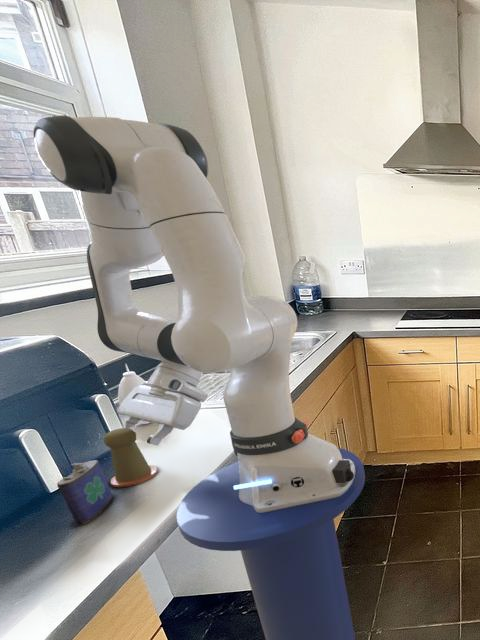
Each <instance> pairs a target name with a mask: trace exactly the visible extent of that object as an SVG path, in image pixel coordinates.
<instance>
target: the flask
mask: <svg viewBox="0 0 480 640" xmlns="http://www.w3.org/2000/svg"><path fill="white" fill-rule="evenodd" d="M71 466H74V468H72V473H69V475H68V476H64V477H62V479H60V480H59V481H58V482H57V484H56V485H57V488H58V490H59V491H60V495H61V496H62V498H63V500H64V502H65V504H66V507H67V509H68V511H69V513H70V514H71V517H72V518H73V521H74V524H75V526H78V525H79V526H80V525H83V524H86V523H89V522H91V521H92V520H93V519H95V518H96V517H97V516H99V514H101V513H102V512H103V511H104V510H105V508H106V507H107V506H108V505H109V504H110V503H111V502H112V501H113V498H114V497H113V494H112V492H111V489H110V487H109V485H108V483H107V479H106V478H105V475H104V473H103V469H102V467H101V465H100V463H99V460H96V459H93V460H89V461H84V462H74V463H72V464H71Z"/></svg>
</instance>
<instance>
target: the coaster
mask: <svg viewBox="0 0 480 640" xmlns="http://www.w3.org/2000/svg"><path fill="white" fill-rule="evenodd" d="M148 465H149V464H148ZM149 467H150V468H151V471H150V473H148V474H147V475H145V476H144V477H142V478H139V479H136V480H133V481H128V482H118V481H116V478H115V475H114V476H113V477H112V478H111V479H110V480H109V483H110V485H111V486H112V487H115V488H126V487H131V486H135V485H138V484H141V483H144V482H146V481H148V480H150V479H152V478H153V477H155V476H156V475H157V473H158V470H159V469H158V467H156V466H155V465H152V464H151V465H149Z"/></svg>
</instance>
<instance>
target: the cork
mask: <svg viewBox="0 0 480 640" xmlns="http://www.w3.org/2000/svg"><path fill="white" fill-rule="evenodd" d="M136 440H137V433H136V431H135V429H134V430H132V429H130V428H123V427H121V428H117V429H113V430H110V431H108V432H107V433H106V434H105V435H104V436H103V443H104V445H105V446H106V447H107V448H109V449H110V454H111V460H112V466H113V472H114V476H115V478H116V481H118V482H128V481H133V480H136V479H139V478H142V477H144V476H145V475H147V474H148V473H150V471H151V468H150V467H149V464H148V461H147V460H146V458H145V456H144V455H143V453H142V451H141V450H140V448H139V446H138V444H137V443H136Z"/></svg>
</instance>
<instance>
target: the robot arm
mask: <svg viewBox="0 0 480 640" xmlns="http://www.w3.org/2000/svg"><path fill="white" fill-rule="evenodd" d="M32 132H33V140H34V144H35V150H36V152H37V155H38V157H39V159H40V160H41V162H42V164H43V166H45V168H46V169H47V170H48V172H49V173H50V174H51V176H53V178H54V179H55V180H57V181H58V182H59V183H60V184H62V185H64V186H66V187H68V188H69V189H72V190H74V191H78V193H79V199H80V202H81V206H82V210H83V212H84V215H85V219H86V221H87V225H88V227H89V231H90V237H91V238H90V239H91V240H90V243H88V245H87V248H86V261H87V268H88V272H89V277H90V282H91V285H92V286H91V287H92V290H93V294H94V299H95V303H96V308H97V309H96V310H97V328H96V329H97V335H98V337H99V339H100V341H101V343H102V344H103V345H104V346H105V347H106V348H107V349H110V350H112V351H115V352H120V353H127V354H132V355H137V356H140V357H145V358H149V359H153V360H158V361H160V363H159V364H158V365H157V366H156V367H155V369H154V370H153V372H152V374H151V375H150V377H149V379H148V380H147V381H145V383H143V384H141V385H139V386H137V387H135V388H134V389H133V390H132V391H131V392H130V393H129V394H128V395H127V397H126V398H125V399H124V400H123V402H122V403H121V404H120V405H119V406H118V407H117V414H118V415H121V416H124V417H125V418H124V420H123V425H122V428H130V429H132V430H134V431H135V427H136V425H137V424H138V422H139V421H140V420H142V421H146V422H150V423H151V424H156V425H158V427H157V430H156V431H155V432H154V434H150V435H149V437H148V439H147V440H146V443H147V444H149V445H151V446H152V445H153V446H159V445H160V444H161V442H162V441H163V439H165V438H166V437H167V436H168V435H170V434H171V432H172V431H173V430H174V429H177V430H182V431H184V430H186V429H188V428H190V426H191V425H192V424H193V422H194V420H195V419H196V417H197V416H198V414H199V411H200V410H201V407H202V403H204V402H206V401H207V399H208V398H209V394H208V393H207V392H205V391H204V390H203V389H202V388H201V387H199V384H200V383H201V380H202V376H203V374H205V373H206V374H214V373H221V372H226V371H230V375H229V378H228V381H227V383H226V385H225V387H224V390H223V403H224V407H225V411H226V415H227V418H228V422H229V426H230V429H231V430H230V432H229V436H230V440H231V446H232V449H233V453H234V454H235V457H237V461H238V463H239V473H240V485H235V486H234V490H235V489H239V494H238V495H239V499H240V500H241V501H242V502H244V503H246V504H248V505H251V506H253V507H254V509H255V511H256V512H258V513H264V512H268V511H273V510H278V509H283V508H288V507H293V506H297V505H302V504H307V503H312V502H317V501H322V500H326V499H331V498H336V497H339V496H341V495H342V494H343V493H345V492H346V491H347V490H348V488H349V487H350V486H351V484H352V482H353V480H354V477H355V466H354V463H353V462H352V461H351V460H350V459H342V456H341V453H340V451H339V449H338V448H339V447H338V446H337V445H336V444H334V443H332V442H330V441H327V440H325V439H322V438H320V437H318V436H316V435H313V434H311V433H309V430H308V426H309V422H308V419H307V418H306V419H305V420H304V422H303V421H301V420H300V419H299V418H297V417H296V416H295V412H294V405H293V401H292V395H291V390H290V389H291V388H290V364H291V350H292V344H293V343H292V342H293V338H294V335H295V334H296V331H297V328H298V317H297V314H296V312H295V310H294V309H293V307H292V306H291V305H290V303H288V302H287V301H286V300H284V299H282V298H280V297H277V296H271V295H260V294H259V295H258V294H257V295H255V294H254V295H249V296H246V295H245V290H244V284H243V283H244V282H243V271H244V269H245V266H246V261H247V260H246V256H245V253H244V251H243V249H242V246H241V244H240V241H239V240H238V237H237V235H236V233H235V231H234V228H233V226H232V224H231V222H230V220H229V218H228V215H227V214H226V212H225V210H224V207H223V205H222V203H221V201H220V199H219V197H218V195H217V193H216V192H215V190H214V189H213V187H212V185H211V183H210V182H209V181H208V179H207V178H208V176H209V163H208V158H207V155H206V153H205V151H204V149H203V147H202V145H201V144H200V142H199V141H198V140H197V138H196V137H195V136H194V135H193V134H192V133H190V132H189V131H188V130H187V129H184V128H181V127H179V126H175V125H172V124H168V123H158V124H157V123H153V122H146V121H139V120H133V119H122V118H120V117H112V116H77V117H71V116H69V115H65V114H64V115H55V116H54V115H53V116H47V117H43V118H40V119H38V120H37V122H36V123H35V126H34V128H33V131H32ZM163 257H164V258H165V260H166V263H167V264H168V267H169V269H170V272H171V275H172V277H173V281H174V283H175V288H176V293H177V301H178V303H177V304H178V313H177V319H172V318H170V317H169V318H168V317H164V316H159V315H155V314H151V313H147V312H146V311H143V310H142V309H141V308H139V307H138V306H137V305H136V303H135V301H134V296H133V295H134V294H133V290H132V284H131V278H130V273H131V270H133V269H138V268H142V267H146V266H149V265H152V264H154V263H157V262H158V261H160V260H161V259H162V258H163ZM126 416H127V417H126ZM138 425H139V424H138Z"/></svg>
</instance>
